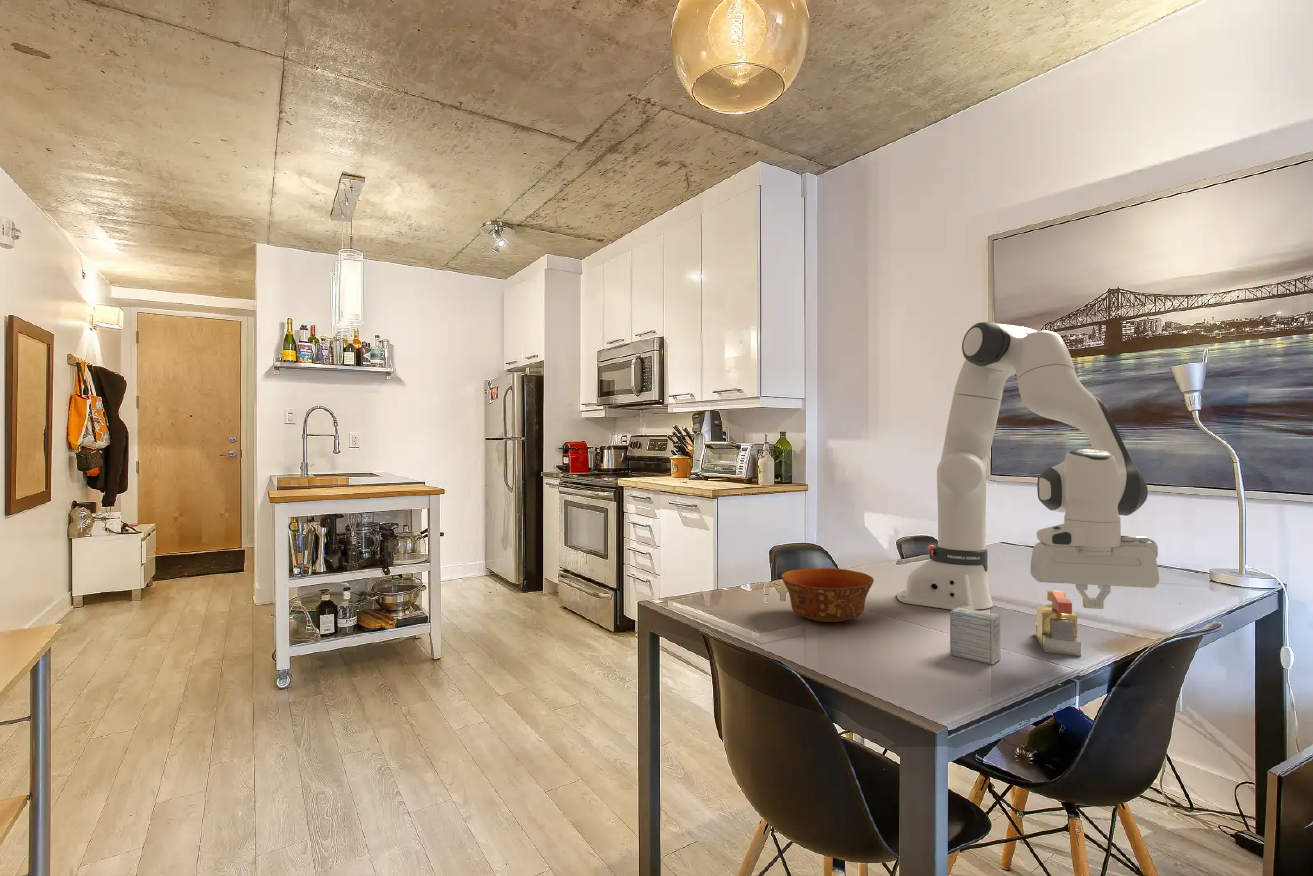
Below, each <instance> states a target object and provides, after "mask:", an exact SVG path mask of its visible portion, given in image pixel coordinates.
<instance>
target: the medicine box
mask: <svg viewBox="0 0 1313 876" xmlns="http://www.w3.org/2000/svg"><path fill="white" fill-rule="evenodd" d="M949 650H950V651H949V654H950V655H951V656H954V657H958V658H961V659H962V658H963V659H968V660H972V661H977V662H979V663H985V664H988V665H994V664H996V663H997V662H999V660H1001V656H1002V655H1001V615H999V614H997V613H992V612H987V611H981V610H977V609H976V610H971V609H965V608H956V609H954V610H951V611H950V612H949Z"/></svg>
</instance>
